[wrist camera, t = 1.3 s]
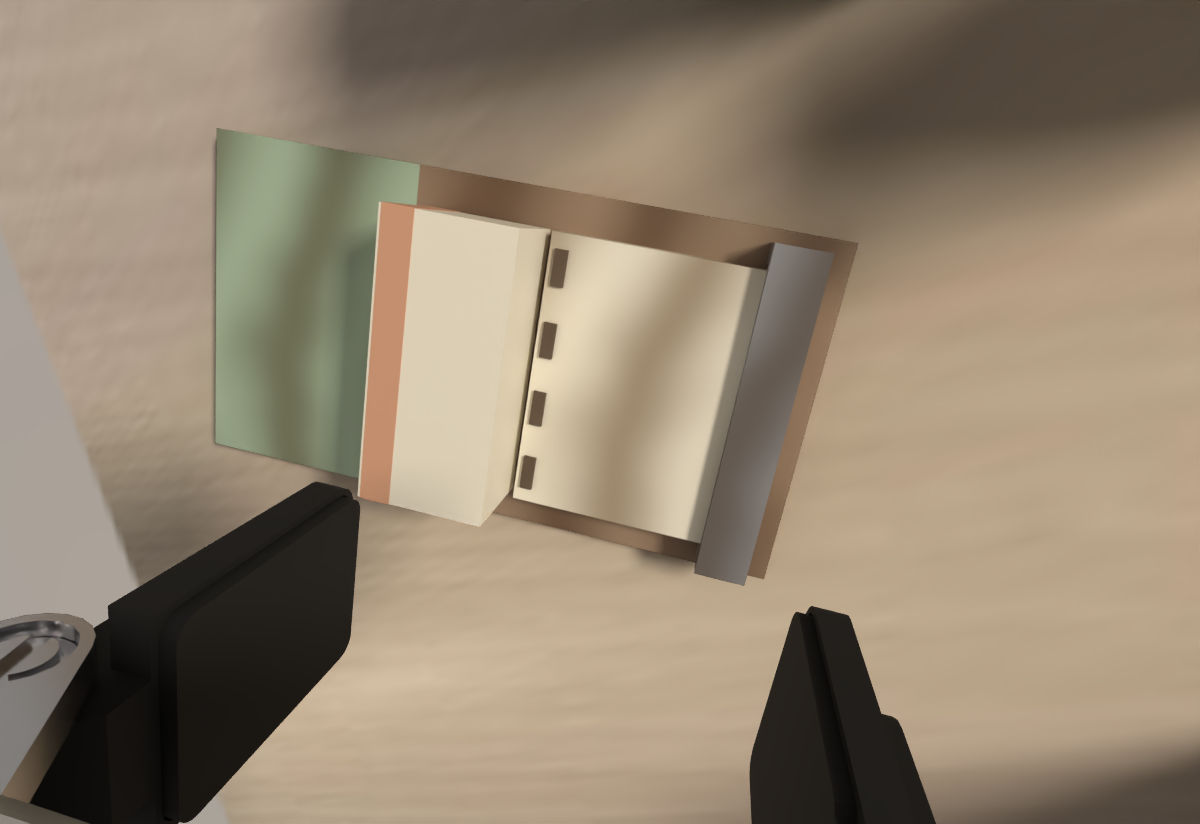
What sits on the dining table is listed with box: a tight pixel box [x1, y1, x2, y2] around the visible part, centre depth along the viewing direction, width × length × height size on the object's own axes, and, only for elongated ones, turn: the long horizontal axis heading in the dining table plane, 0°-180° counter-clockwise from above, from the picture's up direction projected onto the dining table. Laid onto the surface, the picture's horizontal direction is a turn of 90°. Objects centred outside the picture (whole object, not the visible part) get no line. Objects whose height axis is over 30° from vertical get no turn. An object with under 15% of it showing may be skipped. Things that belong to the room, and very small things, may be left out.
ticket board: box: [216, 128, 858, 586], centre depth 27 cm, size 26×14×3 cm, turn 80°
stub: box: [358, 202, 551, 527], centre depth 25 cm, size 5×11×4 cm, turn 170°
